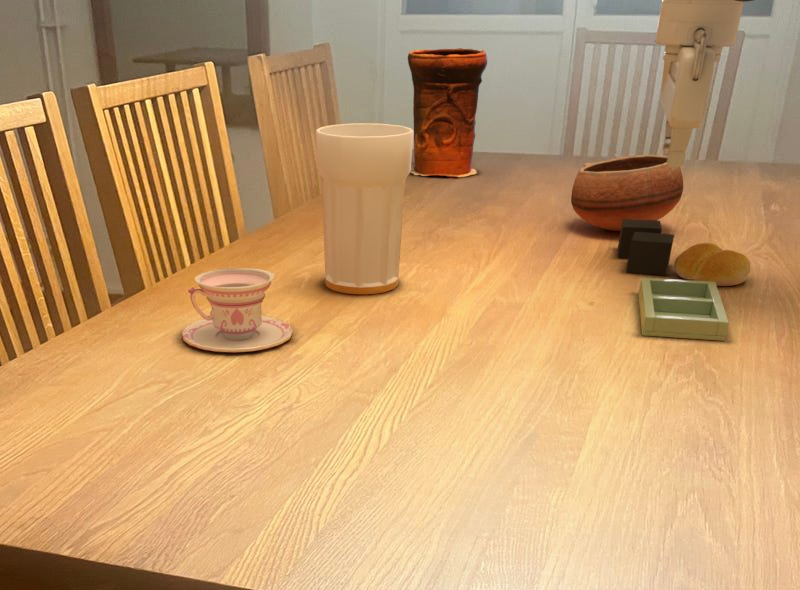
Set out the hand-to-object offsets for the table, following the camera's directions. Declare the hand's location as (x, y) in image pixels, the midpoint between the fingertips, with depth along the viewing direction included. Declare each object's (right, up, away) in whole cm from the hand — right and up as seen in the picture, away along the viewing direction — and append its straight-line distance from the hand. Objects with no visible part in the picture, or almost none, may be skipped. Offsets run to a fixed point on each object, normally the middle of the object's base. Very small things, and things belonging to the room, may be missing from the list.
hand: (671, 159), depth 118 cm
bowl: (+2, +3, +27) cm, 27 cm away
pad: (0, -10, +8) cm, 13 cm away
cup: (-38, -14, +3) cm, 41 cm away
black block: (+1, -6, +15) cm, 16 cm away
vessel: (-20, +31, +67) cm, 76 cm away
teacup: (-52, -26, -13) cm, 60 cm away
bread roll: (+7, -13, +5) cm, 15 cm away
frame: (-2, -22, -8) cm, 24 cm away
